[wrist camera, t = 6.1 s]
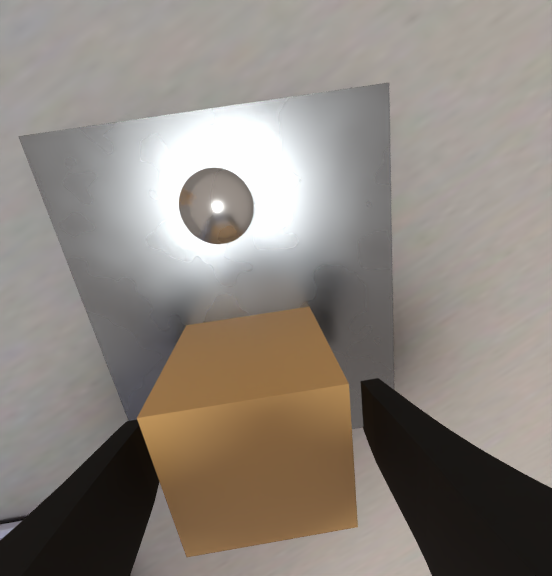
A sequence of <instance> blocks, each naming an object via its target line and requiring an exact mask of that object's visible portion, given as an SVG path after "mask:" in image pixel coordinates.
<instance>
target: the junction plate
mask: <svg viewBox="0 0 552 576" xmlns="http://www.w3.org/2000/svg"><path fill="white" fill-rule="evenodd" d="M18 137H19V139H20V142H21V144H22V147H23V149H24V152H25V155H26V157H27V160H28V162H29V165H30V168H31V170H32V173H33V175H34V178H35V180H36V183H37V186H38V188H39V191H40V193H41V196H42V198H43V201H44V204H45V206H46V209H47V211H48V214H49V216H50V219H51V222H52V224H53V227H54V229H55V232H56V235H57V237H58V240H59V242H60V245H61V247H62V250H63V253H64V255H65V258H66V260H67V263H68V265H69V268H70V271H71V273H72V276H73V278H74V281H75V283H76V286H77V289H78V291H79V294H80V296H81V299H82V302H83V304H84V307H85V309H86V312H87V314H88V317H89V320H90V322H91V325H92V327H93V330H94V332H95V335H96V338H97V340H98V343H99V345H100V348H101V350H102V353H103V356H104V358H105V361H106V363H107V366H108V369H109V371H110V374H111V376H112V379H113V381H114V384H115V387H116V389H117V392H118V394H119V397H120V399H121V402H122V405H123V407H124V410H125V412H126V415H127V417H128V420H129V421H131V420H137V417H138V415H139V413H140V411H141V409H142V408H143V406H144V404H145V402H146V400H147V398H148V396H149V394H150V393H151V391H152V389H153V387H154V385H155V383H156V381H157V379H158V378H159V376H160V374H161V372H162V370H163V368H164V366H165V364H166V363H167V361H168V359H169V357H170V355H171V353H172V351H173V349H174V348H175V346H176V344H177V342H178V340H179V338H180V336H181V334H182V333H183V331H184V329H185V327H186V325H192V324H198V323H205V322H211V321H218V320H224V319H231V318H237V317H244V316H251V315H257V314H264V313H270V312H277V311H283V310H290V309H296V308H303V307H310V309H311V311H312V312H313V314H314V316H315V318H316V320H317V322H318V324H319V326H320V328H321V330H322V332H323V334H324V336H325V338H326V340H327V342H328V344H329V346H330V348H331V350H332V352H333V354H334V356H335V358H336V360H337V361H338V363H339V365H340V367H341V369H342V371H343V373H344V375H345V377H346V379H347V381H348V383H349V393H350V409H351V425H352V429H355V428H361V427H363V415H362V398H361V382H360V381H364V380H370V379H375V378H379V379H380V380H382V381H383V382H384V383H386V384H387V385H388V386H390V387H391V388H392V389H394V348H393V287H392V225H391V164H390V103H389V83H383V84H376V85H369V86H362V87H355V88H349V89H342V90H335V91H328V92H321V93H314V94H307V95H300V96H293V97H286V98H280V99H273V100H266V101H259V102H252V103H245V104H238V105H231V106H224V107H217V108H211V109H204V110H197V111H190V112H183V113H176V114H169V115H162V116H155V117H148V118H142V119H135V120H128V121H121V122H114V123H107V124H100V125H93V126H86V127H79V128H73V129H66V130H59V131H52V132H45V133H38V134H31V135H24V136H18Z"/></svg>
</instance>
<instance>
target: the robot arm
mask: <svg viewBox="0 0 552 576" xmlns="http://www.w3.org/2000/svg"><path fill="white" fill-rule="evenodd" d="M360 382H361V398H362V415H363V429H364V432H365V435H366V437H367V440H368V443H369V445H370V448H371V451H372V453H373V456H374V458H375V461H376V463H377V465H378V467H379V469H380V471H381V473H382V475H383V477H384V479H385V481H386V483H387V485H388V486H389V488H390V490H391V492H392V494H393V496H394V498H395V500H396V502H397V504H398V506H399V508H400V510H401V512H402V514H403V516H404V518H405V520H406V522H407V524H408V526H409V527H410V529H411V531H412V533H413V535H414V537H415V539H416V541H417V543H418V545H419V548H420V550H421V552H422V554H423V556H424V558H425V560H426V563H427V565H428V567H429V570H430V572H431V574H432V576H552V488H550V487H548V486H546V485H544V484H542V483H540V482H539V481H537V480H535V479H533V478H531V477H529V476H527V475H525V474H523V473H522V472H520V471H518V470H516V469H514V468H513V467H511V466H509V465H507V464H505V463H504V462H502V461H500V460H498V459H497V458H495V457H493V456H491V455H490V454H488V453H486V452H484V451H483V450H481V449H479V448H478V447H476V446H475V445H473V444H471V443H470V442H468V441H467V440H465V439H463V438H462V437H460V436H459V435H457V434H456V433H454V432H452V431H451V430H449V429H448V428H446V427H445V426H443V425H442V424H440V423H439V422H438V421H436V420H435V419H433V418H432V417H430V416H429V415H428V414H426V413H425V412H423V411H422V410H421V409H419V408H418V407H416V406H415V405H414V404H412V403H411V402H410V401H408V400H407V399H406V398H404V397H403V396H402V395H400V394H399V393H398V392H396V391H395V390H394V389H392V388H391V387H390V386H388V385H387V384H386V383H384V382H383V381H382V380H380V379H379V378H375V379H370V380H364V381H360ZM158 485H159V479H158V476H157V473H156V470H155V468H154V465H153V462H152V459H151V456H150V454H149V451H148V448H147V445H146V442H145V440H144V437H143V434H142V431H141V429H140V426H139V423H138V420H131V421H127V422H126V423H125V424H124V425H122V426H121V427H120V428H119V429H118V430H117V431H116V432H115V433H114V434H113V435H112V436H111V437H110V438H109V439H108V440H107V441H106V442H105V443H104V444H103V445H102V446H101V447H100V448H99V449H98V450H96V451H95V452H94V453H93V454H92V455H91V456H90V457H89V458H88V459H87V460H86V461H85V462H84V463H83V464H82V465H81V466H80V467H79V468H78V469H77V470H76V471H75V472H74V473H73V474H72V475H71V476H70V477H69V478H68V479H67V480H66V481H65V482H64V483H63V484H62V485H61V486H59V487H58V488H57V489H56V490H55V491H54V492H53V493H52V494H51V495H50V496H49V497H48V498H46V499H45V500H44V501H43V502H42V503H41V504H40V505H39V506H38V507H37V508H36V509H35V510H33V511H32V512H31V513H30V514H29V515H28V516H27V517H26V518H25V519H24V520H23V521H17V522H12V523H6V524H0V576H130V574H131V571H132V568H133V565H134V562H135V559H136V556H137V553H138V550H139V547H140V544H141V541H142V538H143V535H144V532H145V529H146V526H147V523H148V520H149V517H150V514H151V511H152V508H153V505H154V502H155V498H156V493H157V489H158Z"/></svg>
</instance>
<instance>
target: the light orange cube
mask: <svg viewBox="0 0 552 576" xmlns="http://www.w3.org/2000/svg"><path fill="white" fill-rule="evenodd" d="M137 420H138V423H139V426H140V429H141V431H142V434H143V437H144V440H145V442H146V445H147V448H148V451H149V454H150V456H151V459H152V462H153V465H154V468H155V470H156V473H157V476H158V479H159V481H160V484H161V487H162V490H163V493H164V495H165V498H166V501H167V504H168V507H169V509H170V512H171V515H172V518H173V520H174V523H175V526H176V529H177V532H178V534H179V537H180V540H181V543H182V546H183V548H184V551H185V554H186V557H192V556H197V555H203V554H208V553H214V552H220V551H225V550H231V549H237V548H242V547H248V546H254V545H259V544H265V543H271V542H276V541H282V540H288V539H293V538H299V537H305V536H310V535H316V534H321V533H327V532H333V531H338V530H344V529H350V528H355V527H358V522H357V506H356V490H355V474H354V458H353V441H352V425H351V409H350V393H349V383H348V381H347V379H346V377H345V375H344V373H343V371H342V369H341V367H340V365H339V363H338V361H337V360H336V358H335V356H334V354H333V352H332V350H331V348H330V346H329V344H328V342H327V340H326V338H325V336H324V334H323V332H322V330H321V328H320V326H319V324H318V322H317V320H316V318H315V316H314V314H313V312H312V311H311V309H310V307H303V308H296V309H290V310H283V311H277V312H270V313H264V314H257V315H251V316H244V317H237V318H231V319H224V320H218V321H211V322H205V323H198V324H192V325H186V327H185V329H184V331H183V333H182V334H181V336H180V338H179V340H178V342H177V344H176V346H175V348H174V349H173V351H172V353H171V355H170V357H169V359H168V361H167V363H166V364H165V366H164V368H163V370H162V372H161V374H160V376H159V378H158V379H157V381H156V383H155V385H154V387H153V389H152V391H151V393H150V394H149V396H148V398H147V400H146V402H145V404H144V406H143V408H142V409H141V411H140V413H139V415H138V417H137Z"/></svg>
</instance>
